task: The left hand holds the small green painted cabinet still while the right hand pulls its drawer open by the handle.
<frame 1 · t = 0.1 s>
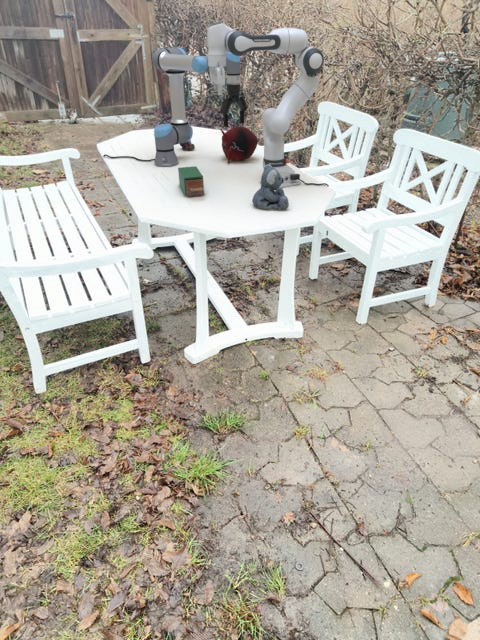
left hand: (234, 125, 259), 28 cm above the table, tool pointing down, fingers open, 13 cm apart
right hand: (218, 93, 227), 48 cm above the table, tool pointing down, fingers open, 8 cm apart
koala plush: (269, 205, 230), on the table
rock: (186, 149, 324), on the table
drawer: (192, 184, 243), point 5 cm above the table, slide at 1.3 cm
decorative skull: (239, 159, 302), on the table
cabinet: (191, 190, 251), on the table
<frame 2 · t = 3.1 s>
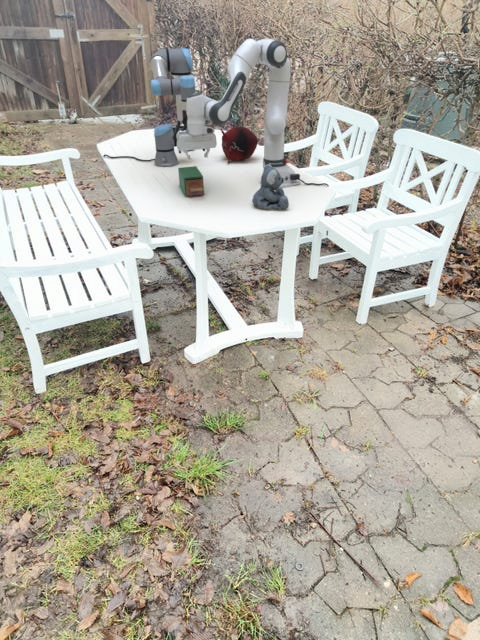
left hand: (192, 151, 247), 19 cm above the table, tool pointing down, fingers open, 13 cm apart
right hand: (197, 158, 229), 20 cm above the table, tool pointing down, fingers open, 8 cm apart
nothing on the table moved.
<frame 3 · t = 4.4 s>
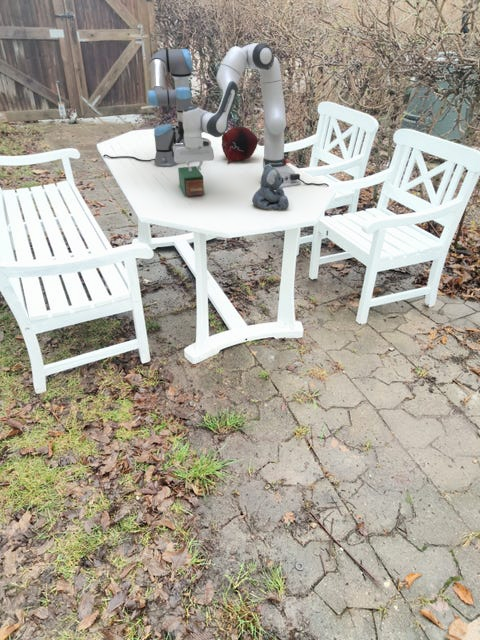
left hand: (187, 162, 247), 14 cm above the table, tool pointing down, fingers open, 13 cm apart
right hand: (194, 170, 230), 15 cm above the table, tool pointing down, fingers open, 3 cm apart
nothing on the table moved.
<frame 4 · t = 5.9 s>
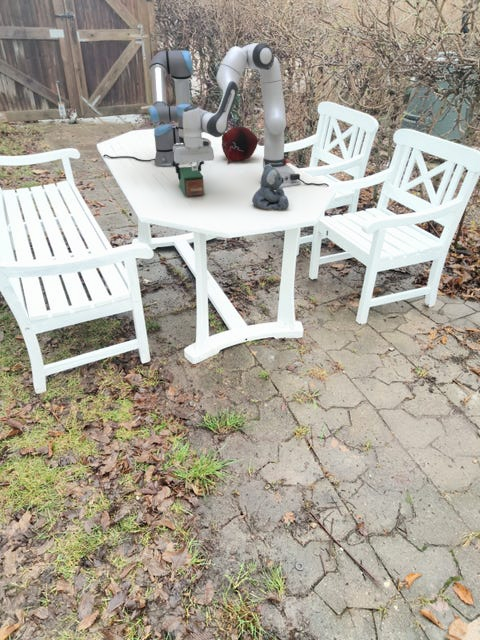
left hand: (189, 177, 253), 5 cm above the table, tool pointing down, fingers closed on cabinet, 10 cm apart
right hand: (194, 170, 230), 15 cm above the table, tool pointing down, fingers closed
cabinet: (191, 189, 251), on the table, touching left hand
everything else where it was.
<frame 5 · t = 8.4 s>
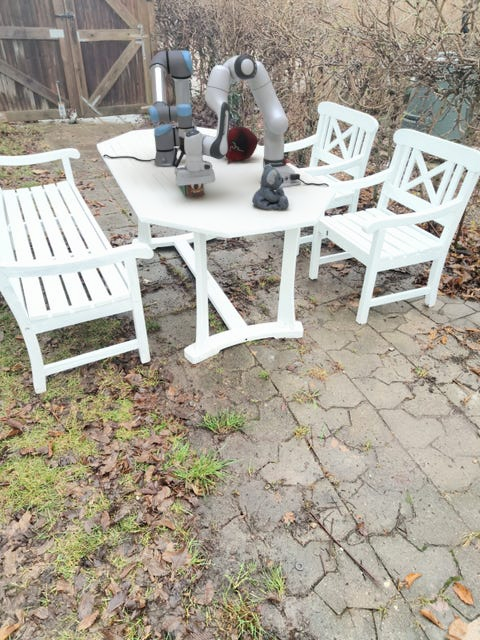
left hand: (189, 177, 252), 5 cm above the table, tool pointing down, fingers closed on cabinet, 10 cm apart
right hand: (196, 192, 235), 4 cm above the table, tool pointing down, fingers closed, pressing on drawer
drawer: (193, 184, 243), point 5 cm above the table, slide at 2.1 cm, touching right hand
cabinet: (191, 190, 251), on the table, touching left hand
everything else where it was.
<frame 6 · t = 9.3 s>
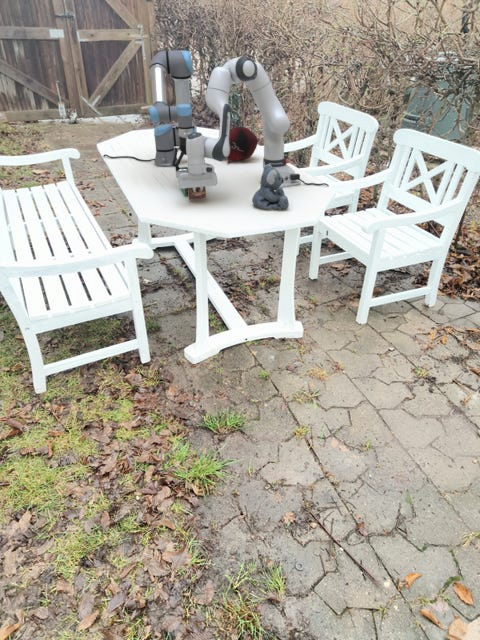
left hand: (189, 177, 252), 5 cm above the table, tool pointing down, fingers closed on cabinet, 10 cm apart
right hand: (198, 195, 231), 4 cm above the table, tool pointing down, fingers closed, pressing on drawer
drawer: (194, 187, 239), point 5 cm above the table, slide at 7.0 cm, touching right hand
cabinet: (191, 189, 251), on the table, touching left hand
everything else where it was.
when the left hand's fingers open (5 cm above the table, at t = 11.0 s): cabinet stays where it is, on the table.
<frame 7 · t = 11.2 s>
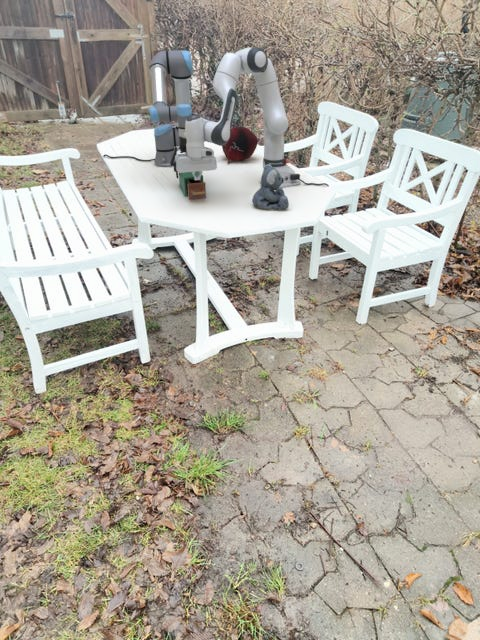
left hand: (189, 176, 252), 6 cm above the table, tool pointing down, fingers open, 12 cm apart
right hand: (197, 179, 227), 12 cm above the table, tool pointing down, fingers closed
drawer: (194, 187, 239), point 5 cm above the table, slide at 7.0 cm
cabinet: (191, 190, 251), on the table
everything else where it was.
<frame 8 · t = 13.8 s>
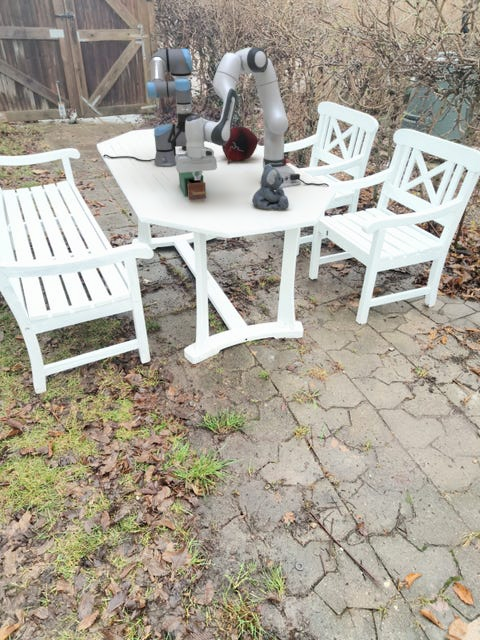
left hand: (187, 154, 245), 18 cm above the table, tool pointing down, fingers open, 13 cm apart
right hand: (197, 179, 227), 12 cm above the table, tool pointing down, fingers closed
nothing on the table moved.
at the end: drawer slide at 7.0 cm; cabinet tilted 0°; cabinet never tilted more than 1° during the clip; cabinet moved 0.1 cm from its start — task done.
